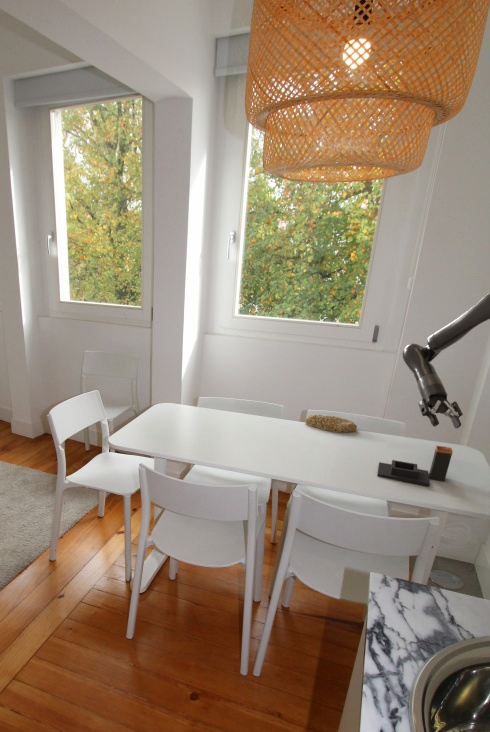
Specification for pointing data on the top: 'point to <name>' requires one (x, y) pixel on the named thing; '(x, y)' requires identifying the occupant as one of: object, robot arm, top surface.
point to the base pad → (403, 472)
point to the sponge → (331, 423)
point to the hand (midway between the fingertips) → (447, 426)
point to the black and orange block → (440, 463)
